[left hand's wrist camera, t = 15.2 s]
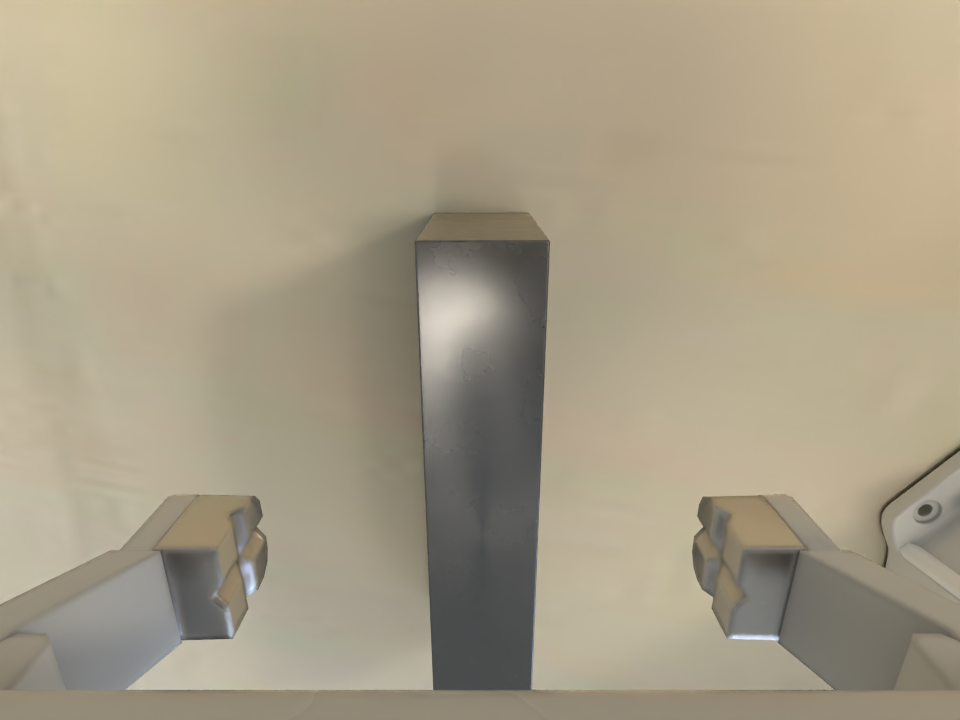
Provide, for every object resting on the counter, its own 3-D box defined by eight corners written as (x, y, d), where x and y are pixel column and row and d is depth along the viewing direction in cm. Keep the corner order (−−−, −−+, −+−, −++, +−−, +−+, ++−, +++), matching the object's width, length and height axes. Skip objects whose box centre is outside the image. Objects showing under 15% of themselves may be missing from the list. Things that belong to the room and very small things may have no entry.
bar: (434, 213, 30) (414, 240, 21) (529, 212, 30) (550, 240, 21) (445, 605, 39) (435, 739, 31) (518, 605, 39) (530, 739, 31)
